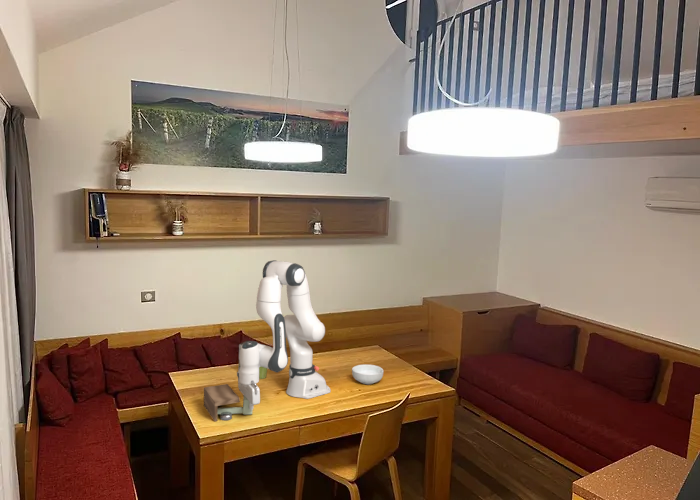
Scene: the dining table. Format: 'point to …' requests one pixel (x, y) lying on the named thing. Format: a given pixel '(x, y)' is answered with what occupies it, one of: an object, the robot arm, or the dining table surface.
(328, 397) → the dining table surface
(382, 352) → the dining table surface
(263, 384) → the dining table surface
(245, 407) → the sage paddle
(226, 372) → the dining table surface
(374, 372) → the cereal bowl
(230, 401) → the walnut shelf
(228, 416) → the steel puck
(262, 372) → the plant pot
